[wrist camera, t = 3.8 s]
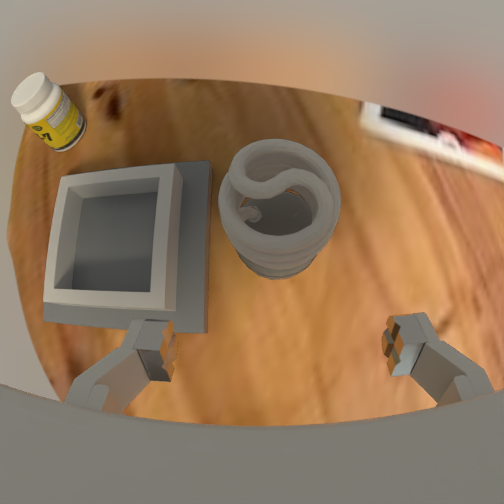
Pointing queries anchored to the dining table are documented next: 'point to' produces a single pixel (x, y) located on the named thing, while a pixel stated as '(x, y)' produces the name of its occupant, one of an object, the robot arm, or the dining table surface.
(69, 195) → the bulb socket
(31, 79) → the supplement bottle
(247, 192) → the light bulb
